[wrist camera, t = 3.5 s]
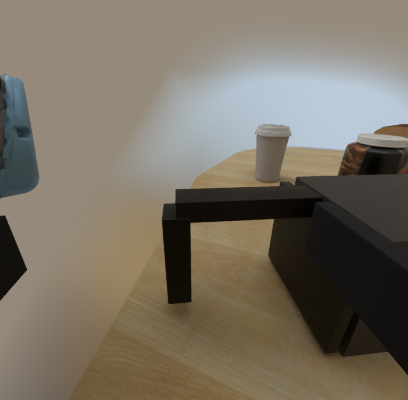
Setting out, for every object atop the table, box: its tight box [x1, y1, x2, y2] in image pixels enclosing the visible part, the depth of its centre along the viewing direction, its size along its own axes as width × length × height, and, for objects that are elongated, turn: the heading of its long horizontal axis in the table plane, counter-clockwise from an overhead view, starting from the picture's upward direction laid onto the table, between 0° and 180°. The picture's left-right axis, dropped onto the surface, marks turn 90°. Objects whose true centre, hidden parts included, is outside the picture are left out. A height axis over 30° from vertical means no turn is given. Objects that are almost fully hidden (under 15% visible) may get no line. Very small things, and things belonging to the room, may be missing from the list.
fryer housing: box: [295, 174, 408, 357], centre depth 25 cm, size 16×14×13 cm
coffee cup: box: [255, 125, 291, 182], centre depth 64 cm, size 10×10×15 cm
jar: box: [338, 134, 408, 176], centre depth 49 cm, size 12×12×15 cm
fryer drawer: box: [162, 181, 354, 354], centre depth 24 cm, size 30×14×13 cm, turn 96°
